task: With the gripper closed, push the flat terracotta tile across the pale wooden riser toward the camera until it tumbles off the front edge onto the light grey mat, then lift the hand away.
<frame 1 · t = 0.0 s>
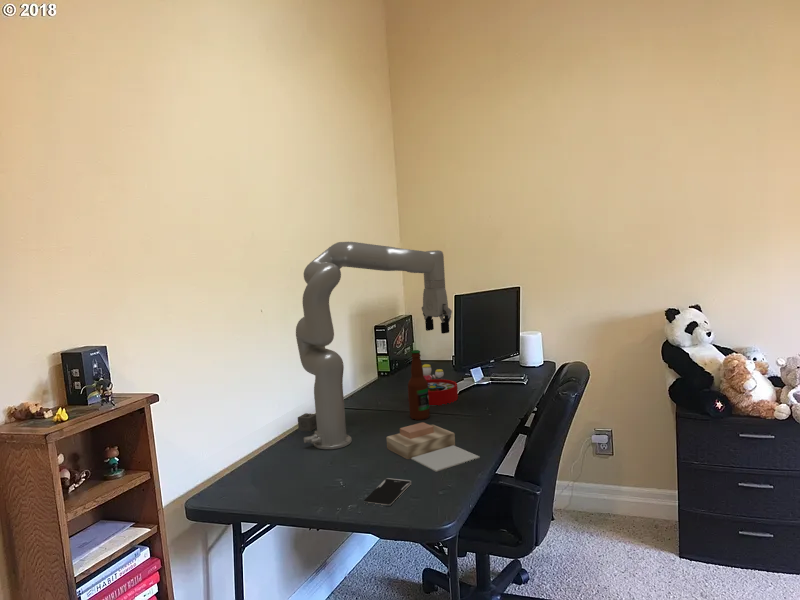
hand: (437, 331, 228), 31 cm above the table, tool pointing down, fingers open, 9 cm apart
toy figures: (432, 383, 280), on the table
dice cube: (308, 429, 225), on the table
mat: (445, 458, 188), on the table
tile: (416, 433, 200), point 4 cm above the table, touching riser
bottle: (419, 418, 230), on the table
smartphone: (388, 496, 166), on the table
toy clock: (433, 399, 254), on the table
riser: (421, 447, 199), on the table
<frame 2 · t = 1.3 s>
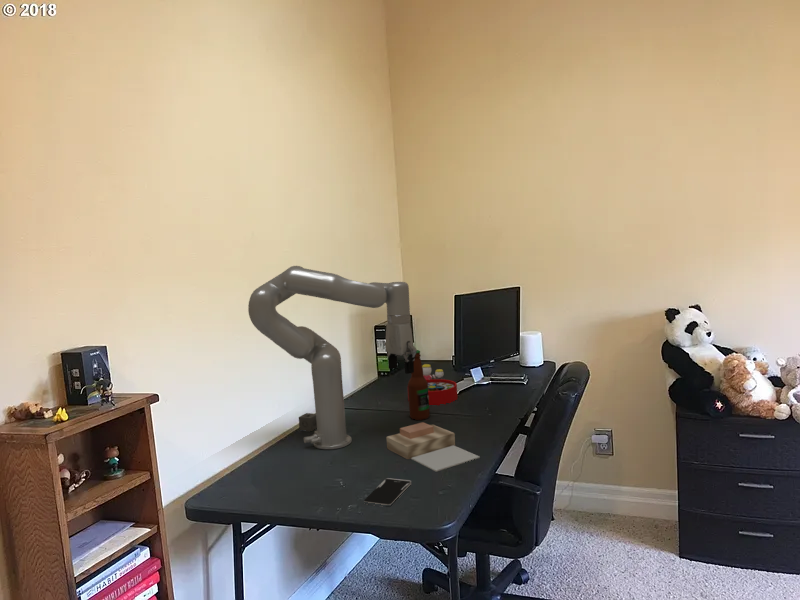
hand: (401, 370, 208), 23 cm above the table, tool pointing down, fingers open, 9 cm apart
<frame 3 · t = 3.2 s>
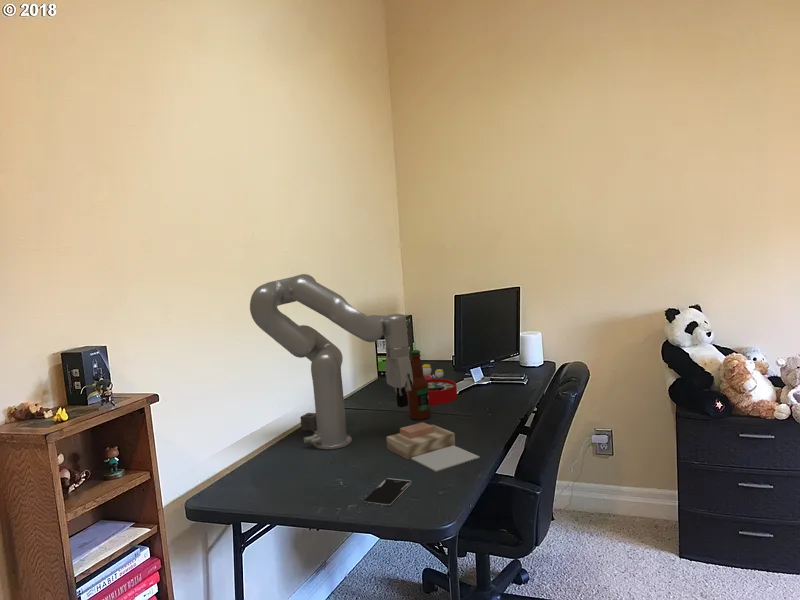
hand: (402, 406, 207), 11 cm above the table, tool pointing down, fingers closed
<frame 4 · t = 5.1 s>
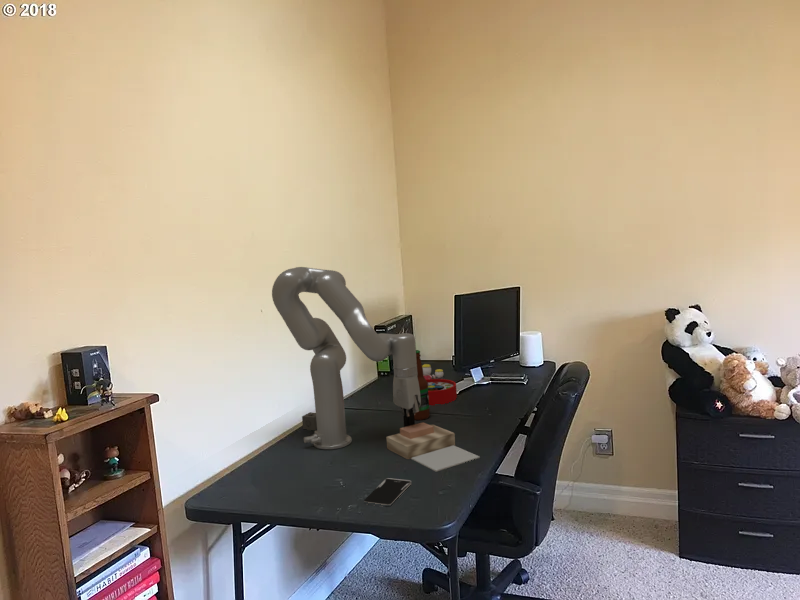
hand: (409, 426, 204), 5 cm above the table, tool pointing down, fingers closed
tile: (417, 433, 200), point 4 cm above the table, touching gripper, riser
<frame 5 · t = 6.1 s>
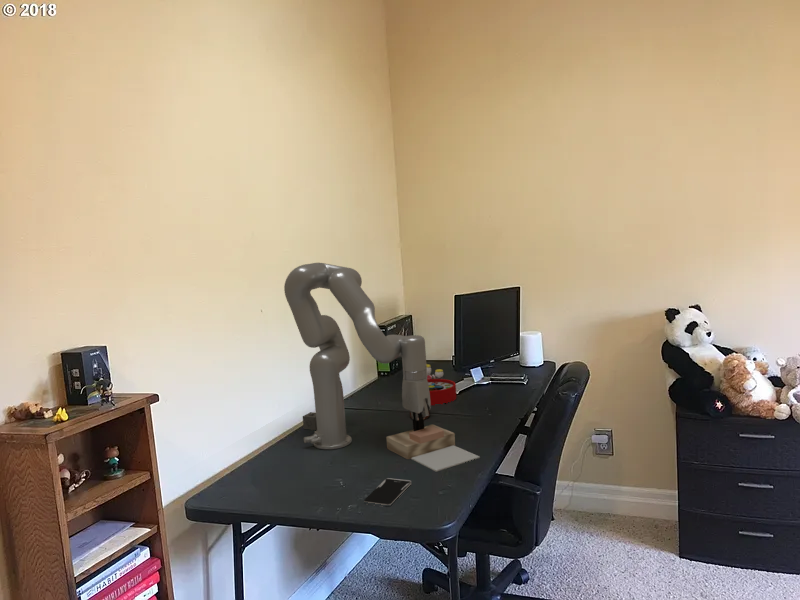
hand: (418, 431, 199), 5 cm above the table, tool pointing down, fingers closed
tile: (426, 437, 196), point 4 cm above the table, touching gripper, riser
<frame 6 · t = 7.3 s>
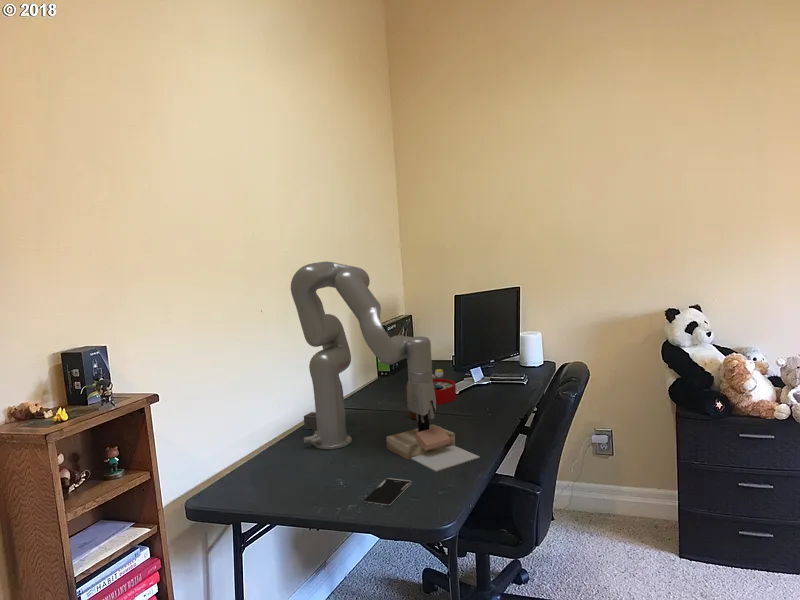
hand: (424, 433, 197), 5 cm above the table, tool pointing down, fingers closed
tile: (432, 440, 193), point 4 cm above the table, tilted 26°, touching riser
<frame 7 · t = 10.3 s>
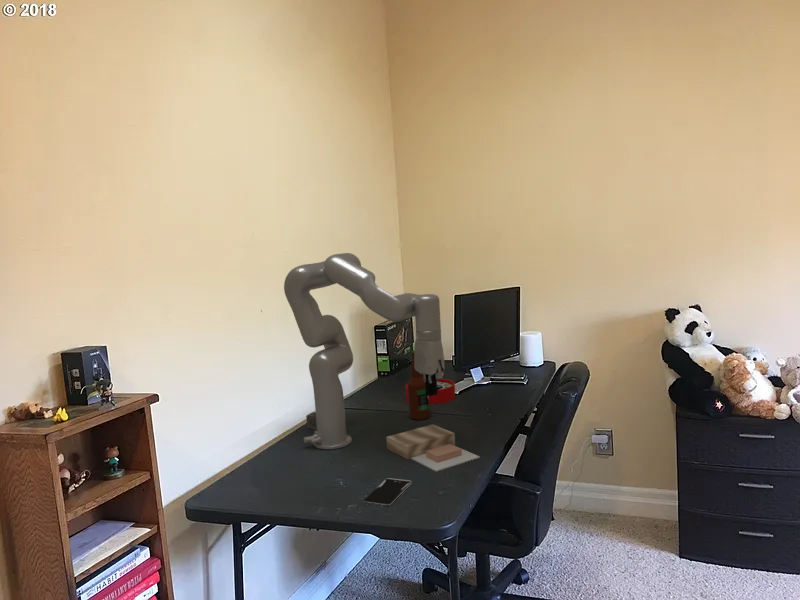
hand: (431, 394, 190), 19 cm above the table, tool pointing down, fingers closed
tile: (443, 449, 189), point 2 cm above the table, tilted 180°, touching mat
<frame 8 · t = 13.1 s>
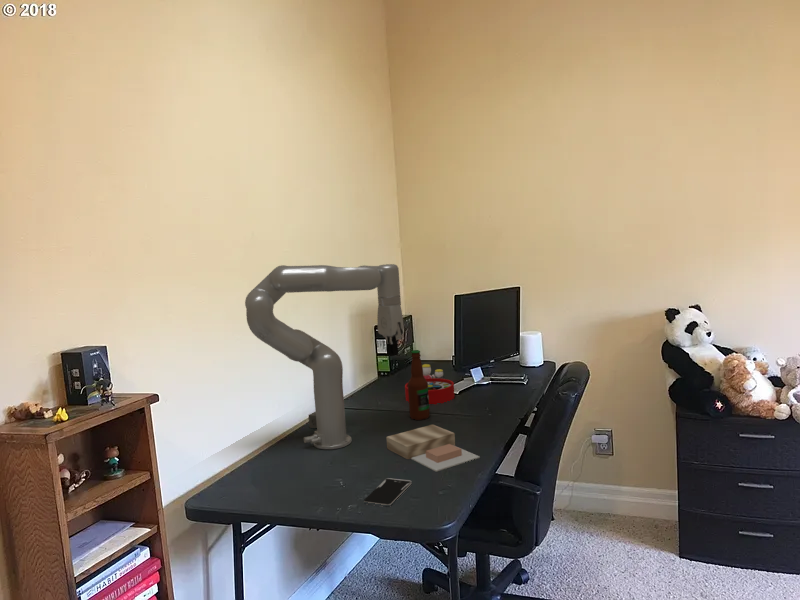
hand: (393, 355, 211), 27 cm above the table, tool pointing down, fingers closed
at the end: tile inside the target area (0.9 cm from its centre), point 2.4 cm above the table; tile touching mat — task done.
